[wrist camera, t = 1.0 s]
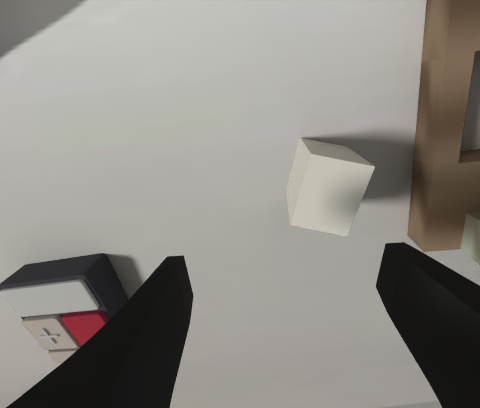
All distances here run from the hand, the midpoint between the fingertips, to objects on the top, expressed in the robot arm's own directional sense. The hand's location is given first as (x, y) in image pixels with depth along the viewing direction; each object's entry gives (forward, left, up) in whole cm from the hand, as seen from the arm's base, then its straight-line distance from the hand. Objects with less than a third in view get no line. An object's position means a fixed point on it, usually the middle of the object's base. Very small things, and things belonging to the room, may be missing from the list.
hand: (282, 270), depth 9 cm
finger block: (-3, -1, -13) cm, 13 cm away
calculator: (+18, +21, -13) cm, 31 cm away
